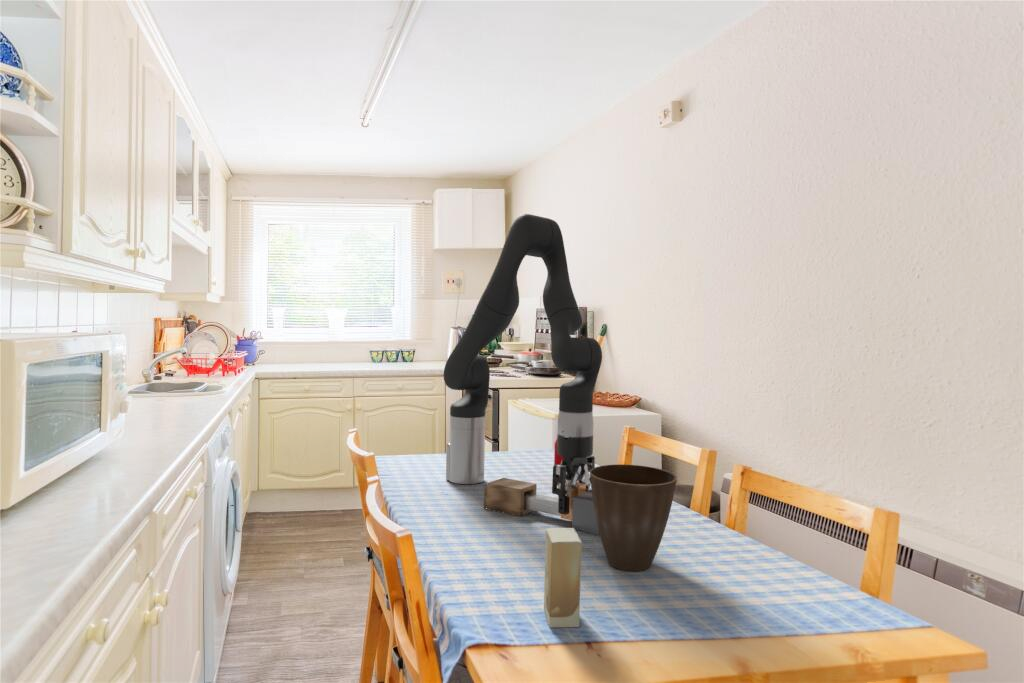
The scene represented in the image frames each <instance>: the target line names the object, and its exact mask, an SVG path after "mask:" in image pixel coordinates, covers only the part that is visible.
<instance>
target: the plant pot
mask: <svg viewBox="0 0 1024 683" xmlns="http://www.w3.org/2000/svg"><path fill="white" fill-rule="evenodd" d="M589 475H590V479H591V486H590V488H591V489H590V490H592V497H593V504H594V510H595V515H596V520H597V525H598V529H599V533H600V535H599V537H600V541H601V544H602V548H603V550H604V554H605V556H606V559H607V562H608V564H609V565H610V566H612V567H613V568H615V569H619V570H621V571H626V572H641V571H642V572H643V571H645V570H648V569H650V568H651V566H652V564H653V562H654V560H655V557H656V556H657V552H658V551H659V550H658V549H659V547H660V545H661V543H662V539H663V537H664V533H665V531H666V526H667V524H668V520H669V517H670V514H671V509H672V504H673V500H674V495H675V490H676V484H677V479H678V478H677V476H676V474H674V473H672V472H671V471H668V470H664V469H662V468H657V467H652V466H646V465H636V464H605V465H600V466H595V468H593V469H591V470H590V472H589Z"/></svg>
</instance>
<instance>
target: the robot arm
mask: <svg viewBox="0 0 1024 683" xmlns="http://www.w3.org/2000/svg"><path fill="white" fill-rule="evenodd" d="M526 256H527V257H535V258H541V259H542V261H543V263H544V265H545V268H546V270H547V276H546V282H545V283H544V287H543V290H542V302H543V308H544V312H545V315H546V317H547V321H548V324H549V326H550V329H549V330H550V342H551V345H550V347H551V348H550V356H551V360H552V362H553V364H554V366H555V367H556V368H557V369H559V370H560V371H562V372H576V375H575V377H574V379H572V380H570V381H568V382H565V383H562V384H561V385H560V387H559V400H558V402H559V404H558V406H559V407H558V410H559V411H558V417H557V429H556V430H557V431H556V432H557V434H556V440H557V453H558V454H559V455H561V456H562V458H563V459H562V464H561V465H556V464H554V463H553V466H552V480H551V481H552V485H551V486H552V487H551V493H552V494H554V495H557V496H558V497H557V498H559V501H558V512H559V513H560V514H564V515H567V514H569V501H570V496H569V494H570V491H571V488H572V487H574V486H575V483H576V482H578V483H584V484H586V492H587V491H589V488H591V479H590V470H591V469H593V468H595V467H596V465H595V464H596V463H595V459H596V458H595V456H594V455H593V453H594V416H593V414H594V413H593V409H594V407H593V402H594V401H593V400H594V399H593V398H594V392H595V391H594V389H595V387H596V383H597V379H598V376H599V372H600V369H601V365H602V361H603V350H602V347H601V345H600V343H599V342H598V341H597V339H595V338H593V337H572V336H571V335H572V334H574V333H576V332H578V331H579V330H581V327H582V325H583V318H582V314H581V311H580V309H579V306H578V302H577V300H576V297H575V294H574V292H573V288H572V285H571V280H570V274H569V269H568V262H567V261H568V260H567V255H566V250H565V243H564V238H563V234H562V230H561V228H560V226H559V223H558V222H556V220H554V219H551V218H548V217H543V216H539V215H535V214H529V213H522V214H520V215H518V216H517V217H516V218H515V220H514V221H513V223H512V224H511V226H510V227H509V231H508V233H507V236H506V239H505V241H504V244H503V247H502V250H501V253H500V254H499V257H498V261H497V263H496V265H495V268H494V270H493V272H492V274H491V276H490V278H489V281H488V282H487V285H486V287H485V289H484V291H483V293H482V295H481V297H480V299H479V301H478V303H477V304H476V307H475V310H474V312H473V315H472V316H471V319H470V320H469V322H468V324H467V326H466V328H465V330H464V332H463V333H462V336H461V338H460V339H459V341H458V342H457V343H456V345H455V347H454V348H453V350H452V351H451V353H450V354H449V357H448V358H447V360H446V361H445V362H446V363H445V364H444V365H445V366H444V370H443V380H444V384H445V386H446V387H447V388H449V389H451V390H454V391H465V392H464V395H463V396H462V397H461V398H459V400H456V401H455V402H454V403H452V404H450V409H449V415H450V416H449V442H448V443H447V444H446V452H445V453H446V457H445V458H446V459H445V460H446V462H445V468H446V470H445V480H447V481H449V482H451V483H452V484H460V485H474V484H475V485H476V484H479V483H480V484H481V483H482V482H484V481H485V454H486V453H485V452H486V451H485V446H486V439H485V438H486V411H487V410H486V409H487V407H488V404H489V392H490V378H491V376H490V375H491V373H490V372H491V371H490V366H489V362H488V360H487V359H486V357H485V356H484V355H482V354H480V353H481V352H482V351H483V350H484V348H486V347H487V346H488V345H489V344H491V343H492V342H493V341H495V340H496V339H497V338H498V337H499V336H501V335H502V334H503V333H504V332H505V331H506V330H507V329H508V327H509V326H510V324H511V323H512V320H513V319H514V316H515V315H516V312H517V310H518V308H519V305H520V292H519V286H518V278H517V276H518V272H519V270H520V267H521V264H522V262H523V259H524V258H525V257H526ZM557 483H559V484H557ZM566 486H567V488H566V490H565V487H566Z"/></svg>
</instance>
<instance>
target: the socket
mask: <svg viewBox="0 0 1024 683" xmlns="http://www.w3.org/2000/svg"><path fill="white" fill-rule="evenodd" d="M571 528H574V529H575V531H580V532H583V533H587V534H588V533H589V534H593V535H597V536H598V535H599V536H600V533H599V529H598V525H597V520H596V515H595V510H594V504H593V497H592V489H590V490H589V491H587V492H584V493H582V494H580V495H577V496H575V497H573V504H572V520H571Z"/></svg>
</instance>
